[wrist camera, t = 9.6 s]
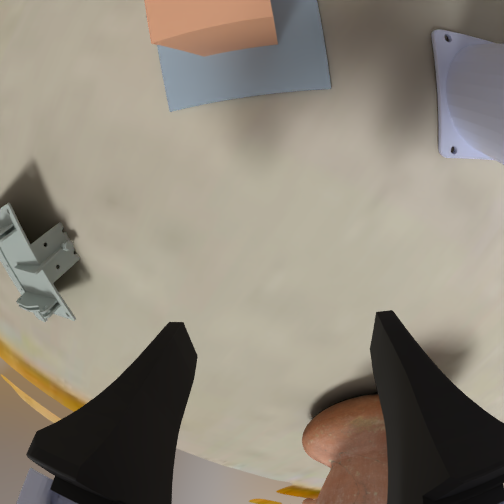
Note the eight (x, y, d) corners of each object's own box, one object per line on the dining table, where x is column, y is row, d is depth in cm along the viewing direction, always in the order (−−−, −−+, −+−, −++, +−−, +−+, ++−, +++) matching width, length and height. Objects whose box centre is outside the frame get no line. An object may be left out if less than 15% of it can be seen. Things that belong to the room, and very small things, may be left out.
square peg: (266, -18, 11) (252, -75, 5) (277, 44, 13) (273, 16, 7) (193, -4, 12) (138, -45, 6) (203, 56, 14) (151, 43, 8)
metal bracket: (-19, 189, 13) (80, 354, 20) (42, 153, 18) (120, 309, 25) (-39, 215, 20) (25, 325, 27) (-1, 189, 24) (55, 295, 31)
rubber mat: (304, -49, 10) (304, -51, 9) (330, 88, 14) (331, 88, 14) (149, -19, 11) (147, -20, 11) (171, 111, 16) (170, 111, 15)
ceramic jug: (334, 445, 36) (337, 530, 24) (269, 416, 32) (261, 527, 20) (447, 395, 29) (472, 489, 17) (409, 349, 24) (446, 488, 12)
